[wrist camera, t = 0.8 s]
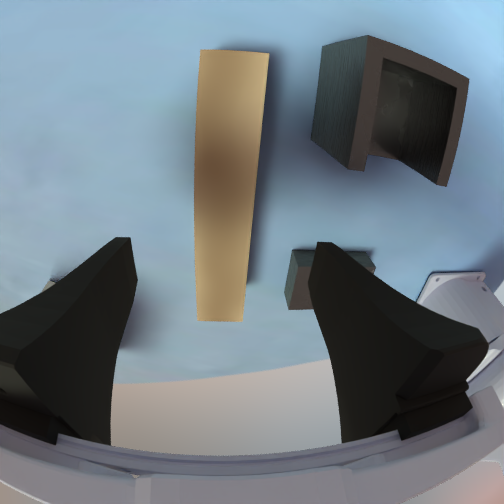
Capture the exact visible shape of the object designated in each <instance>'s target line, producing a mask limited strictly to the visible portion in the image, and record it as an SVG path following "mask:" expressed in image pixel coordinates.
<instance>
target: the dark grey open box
mask: <svg viewBox="0 0 504 504" xmlns="http://www.w3.org/2000/svg"><path fill="white" fill-rule="evenodd" d="M468 86H469V79H468V78H467V77H465V76H463V75H461V74H459V73H457V72H456V71H454V70H452V69H450V68H448V67H446V66H444V65H442V64H440V63H438V62H436V61H433V60H431V59H429V58H427V57H425V56H422V55H420V54H418V53H415V52H413V51H411V50H408V49H406V48H403V47H400V46H398V45H395V44H392V43H390V42H387V41H384V40H381V39H378V38H375V37H372V36H369V35H366V36H361V37H357V38H353V39H348V40H344V41H340V42H336V43H333V44H329V45H326V46H322V54H321V63H320V72H319V80H318V88H317V96H316V104H315V112H314V119H313V126H312V133H311V140H312V141H313V142H315V143H316V144H317V145H319V146H320V147H321V148H322V149H324V150H325V151H326V152H327V153H329V154H330V155H331V156H332V157H333V158H335V159H336V160H337V161H338V162H340V163H341V164H342V165H343V166H344V167H345V168H347V169H349V170H356V171H363V172H364V169H365V164H366V160H367V155H368V154H370V155H376V156H381V157H386V158H391V159H396V160H399V161H401V162H402V163H404V164H406V165H407V166H409V167H410V168H412V169H414V170H415V171H417V172H418V173H420V174H421V175H423V176H424V177H426V178H427V179H429V180H430V181H432V182H433V183H435V184H436V185H440V186H445V187H447V183H448V180H449V177H450V173H451V169H452V166H453V162H454V158H455V154H456V150H457V146H458V141H459V137H460V132H461V128H462V123H463V117H464V112H465V106H466V100H467V93H468Z"/></svg>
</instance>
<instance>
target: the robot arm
mask: <svg viewBox="0 0 504 504" xmlns="http://www.w3.org/2000/svg"><path fill="white" fill-rule="evenodd" d="M485 277H486V274H485V273H484V272H465V273H434V274H431V275H430V277H429V278H428V280H427V283H426V285H425V287H424V289H423V291H422V293H421V295H420V297H419V298H418V300H417V302H415V301H413V300H411V299H409V298H408V297H406V296H404V295H403V294H401V293H400V292H398V291H396V290H395V289H393V288H392V287H390V286H389V285H387V284H386V283H385V282H383V281H382V280H380V279H379V278H378V277H376V276H375V275H374V274H372V273H371V272H370V271H368V270H367V269H366V268H365V267H363V266H362V265H361V264H360V263H358V262H357V261H356V260H355V259H353V258H352V257H351V256H350V255H348V254H347V253H346V252H345V251H343V250H342V249H341V248H339V247H338V246H337V245H335V244H334V243H332V242H317V246H316V250H315V255H314V259H313V263H312V267H311V271H310V275H309V279H308V288H309V293H310V298H311V302H312V306H313V309H314V312H315V315H316V317H317V320H318V323H319V326H320V329H321V332H322V334H323V337H324V340H325V343H326V346H327V349H328V352H329V356H330V360H331V365H332V369H333V374H334V380H335V386H336V392H337V397H338V406H339V414H340V424H341V439H342V444H337V445H332V446H327V447H321V448H315V449H308V450H301V451H292V452H283V453H274V454H260V455H239V456H203V455H199V456H198V455H180V454H168V453H157V452H148V451H140V450H133V449H127V448H121V447H115V446H111V438H110V437H111V434H110V433H111V431H110V420H111V419H110V418H111V399H112V389H113V379H114V372H115V365H116V359H117V354H118V350H119V346H120V342H121V339H122V336H123V333H124V329H125V326H126V323H127V320H128V317H129V314H130V311H131V308H132V304H133V301H134V296H135V291H136V286H137V281H138V279H137V274H136V268H135V263H134V257H133V251H132V245H131V238H130V237H116V238H114V239H113V240H111V241H110V242H108V243H107V244H106V245H105V246H103V247H102V248H101V249H100V250H98V251H97V252H96V253H95V254H93V255H92V256H91V257H90V258H88V259H87V260H86V261H85V262H83V263H82V264H81V265H80V266H78V267H77V268H76V269H74V270H73V271H72V272H70V273H69V274H68V275H67V276H65V277H64V278H63V279H61V280H60V281H58V282H57V283H55V284H54V285H52V286H51V287H49V288H48V289H46V290H45V291H43V292H41V293H40V294H38V295H36V296H34V297H33V298H31V299H29V300H27V301H26V302H24V303H22V304H20V305H18V306H16V307H14V308H12V309H10V310H8V311H5V312H3V313H1V314H0V482H2V483H3V484H5V485H7V486H9V487H11V488H13V489H14V490H16V491H18V492H20V493H22V494H24V495H27V496H29V497H31V498H33V499H35V500H37V501H39V502H42V503H44V504H400V503H403V502H405V501H407V500H409V499H412V498H414V497H416V496H418V495H420V494H422V493H424V492H426V491H428V490H430V489H432V488H434V487H436V486H438V485H440V484H442V483H444V482H445V481H447V480H449V479H451V478H453V477H454V476H456V475H458V474H459V473H461V472H463V471H464V470H466V469H467V468H469V467H471V466H472V465H474V464H475V463H477V462H478V461H489V462H498V463H499V464H500V467H501V469H502V472H503V475H504V306H503V305H502V304H501V303H500V301H499V300H498V299H497V298H496V296H495V295H494V294H493V293H492V291H491V290H490V289H489V288H488V287H487V286H486V284H485V283H484V282H483V281H484V279H485ZM127 473H128V474H127ZM131 474H134V475H140V476H139V477H137V478H133V476H132V475H131Z"/></svg>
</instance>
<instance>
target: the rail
mask: <svg viewBox="0 0 504 504" xmlns="http://www.w3.org/2000/svg"><path fill="white" fill-rule="evenodd" d="M268 61H269V53H259V52H248V51H233V50H200V63H199V76H198V92H197V110H196V133H195V170H194V237H195V276H196V300H197V319H198V321H232V322H242V321H243V311H244V300H245V290H246V280H247V269H248V259H249V249H250V239H251V229H252V219H253V209H254V199H255V189H256V179H257V169H258V159H259V149H260V139H261V129H262V119H263V109H264V100H265V90H266V80H267V70H268Z"/></svg>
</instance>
